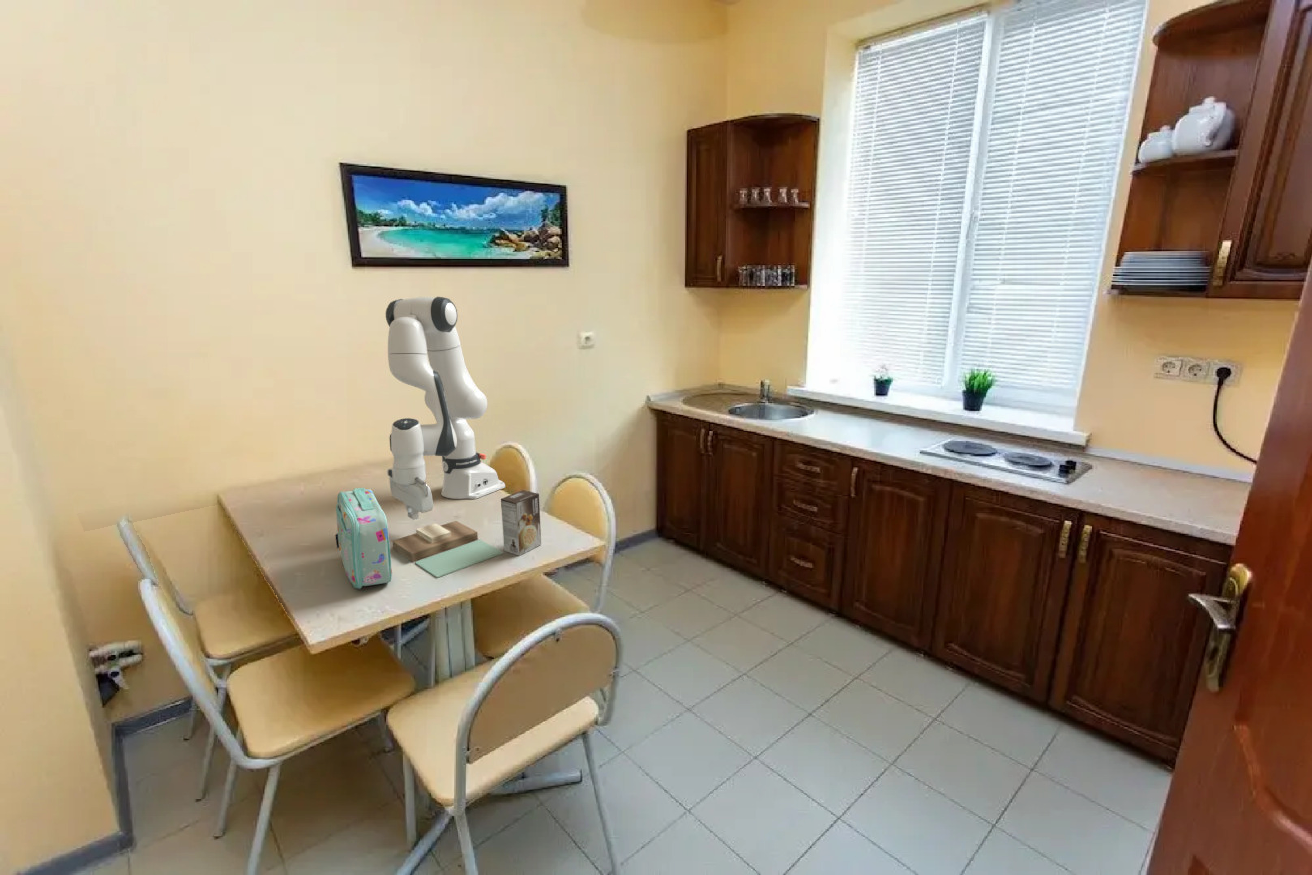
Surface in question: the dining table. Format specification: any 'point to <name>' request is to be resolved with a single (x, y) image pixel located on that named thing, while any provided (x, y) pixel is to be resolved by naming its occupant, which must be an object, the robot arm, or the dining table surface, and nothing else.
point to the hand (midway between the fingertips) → (413, 518)
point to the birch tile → (433, 533)
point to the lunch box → (363, 538)
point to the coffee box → (521, 522)
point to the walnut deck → (422, 548)
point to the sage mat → (458, 558)
